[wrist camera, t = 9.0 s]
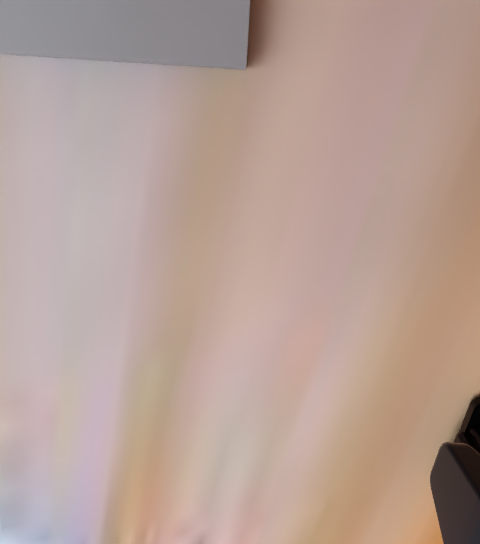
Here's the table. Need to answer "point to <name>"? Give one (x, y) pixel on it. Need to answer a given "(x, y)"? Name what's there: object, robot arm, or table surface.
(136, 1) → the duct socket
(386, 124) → the table surface
